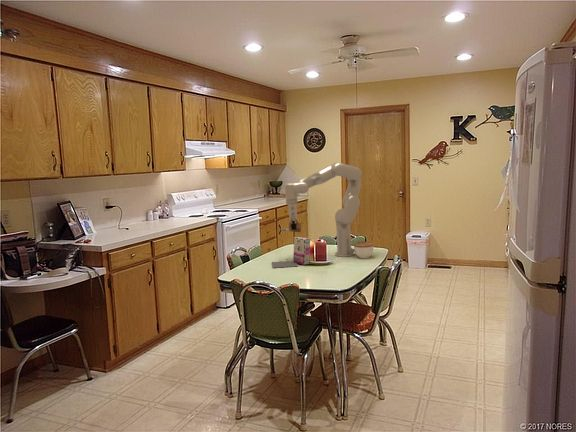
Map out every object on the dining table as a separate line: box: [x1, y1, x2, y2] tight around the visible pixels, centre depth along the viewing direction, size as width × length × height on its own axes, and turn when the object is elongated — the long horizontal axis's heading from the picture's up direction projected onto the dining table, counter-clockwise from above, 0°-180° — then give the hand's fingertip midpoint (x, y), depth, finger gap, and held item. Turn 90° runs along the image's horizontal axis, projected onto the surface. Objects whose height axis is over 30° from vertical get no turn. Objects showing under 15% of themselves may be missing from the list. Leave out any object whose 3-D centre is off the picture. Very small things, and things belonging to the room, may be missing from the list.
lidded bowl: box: [353, 240, 374, 260], centre depth 294 cm, size 13×13×11 cm
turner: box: [280, 221, 302, 233], centre depth 297 cm, size 13×5×6 cm, turn 92°
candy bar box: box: [292, 236, 311, 266], centre depth 286 cm, size 11×5×16 cm, turn 37°
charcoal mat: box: [271, 260, 298, 269], centre depth 286 cm, size 16×15×1 cm
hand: (293, 229), depth 297 cm, fingers closed on turner, 2 cm apart
